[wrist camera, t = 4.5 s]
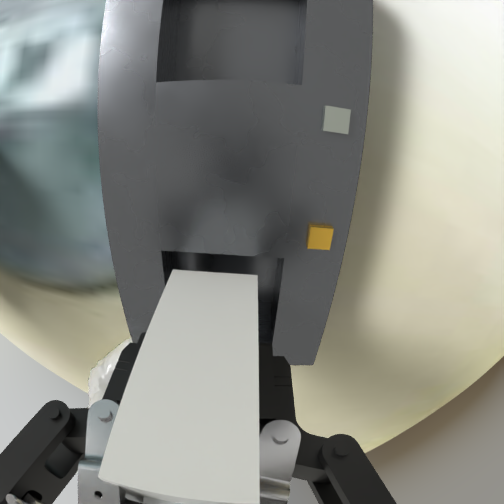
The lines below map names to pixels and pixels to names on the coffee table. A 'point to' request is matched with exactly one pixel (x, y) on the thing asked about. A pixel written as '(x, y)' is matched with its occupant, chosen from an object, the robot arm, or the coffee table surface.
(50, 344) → the coffee table surface
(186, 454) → the plug
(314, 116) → the panel
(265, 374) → the robot arm
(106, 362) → the white creature statuette
